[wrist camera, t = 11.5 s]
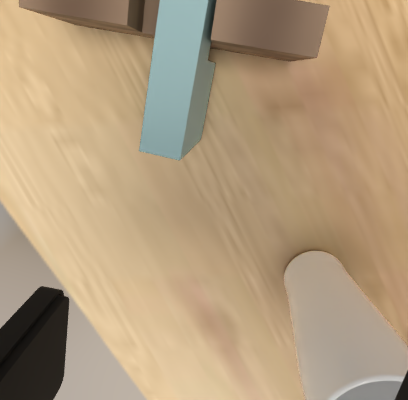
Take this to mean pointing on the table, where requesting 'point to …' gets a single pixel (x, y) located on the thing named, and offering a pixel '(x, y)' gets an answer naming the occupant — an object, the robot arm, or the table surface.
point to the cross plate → (178, 78)
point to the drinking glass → (340, 334)
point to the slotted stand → (222, 25)
